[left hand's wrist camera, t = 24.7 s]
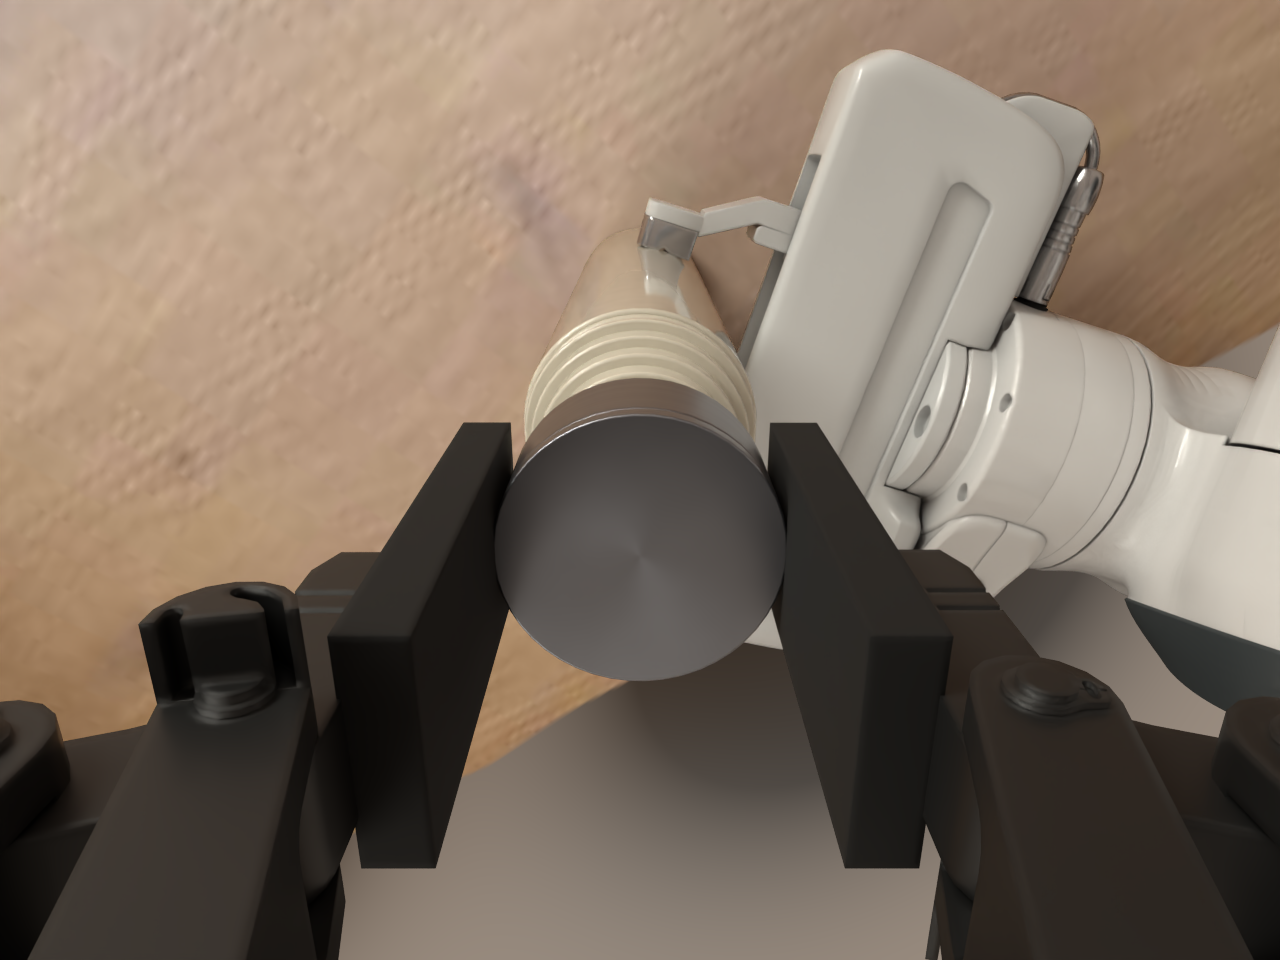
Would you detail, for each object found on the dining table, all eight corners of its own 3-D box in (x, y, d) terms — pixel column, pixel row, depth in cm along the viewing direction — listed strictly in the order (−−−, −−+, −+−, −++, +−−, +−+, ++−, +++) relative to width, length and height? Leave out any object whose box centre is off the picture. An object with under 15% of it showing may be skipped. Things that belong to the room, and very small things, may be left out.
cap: (821, 472, 14) (849, 522, 12) (670, 656, 15) (674, 728, 13) (605, 323, 13) (600, 352, 11) (463, 530, 14) (437, 589, 13)
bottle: (721, 262, 35) (865, 468, 13) (666, 367, 37) (706, 719, 14) (613, 205, 35) (560, 316, 12) (561, 315, 36) (427, 600, 13)
